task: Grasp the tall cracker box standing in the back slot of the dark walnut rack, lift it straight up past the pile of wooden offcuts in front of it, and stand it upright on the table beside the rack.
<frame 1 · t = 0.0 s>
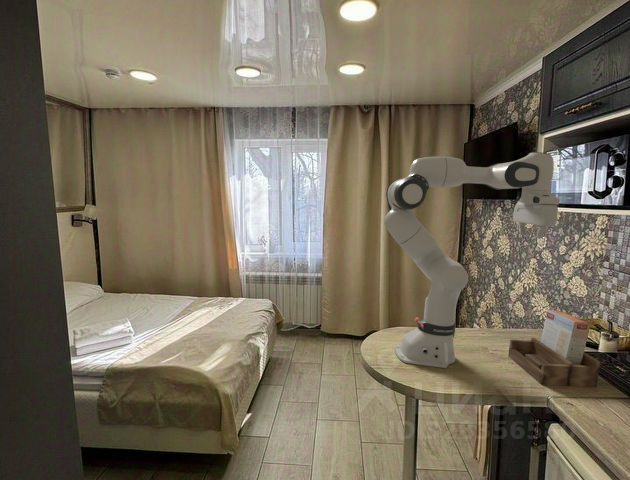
hand: (530, 236, 126), 48 cm above the worktop, fingers open, 8 cm apart
dark stained offcut: (537, 364, 122), point 3 cm above the worktop
walnut rack: (548, 373, 123), on the worktop
cracker box: (554, 371, 124), on the worktop
grey MDF offcut: (536, 369, 123), point 1 cm above the worktop, touching oak offcut
oak offcut: (535, 375, 123), on the worktop, touching grey MDF offcut
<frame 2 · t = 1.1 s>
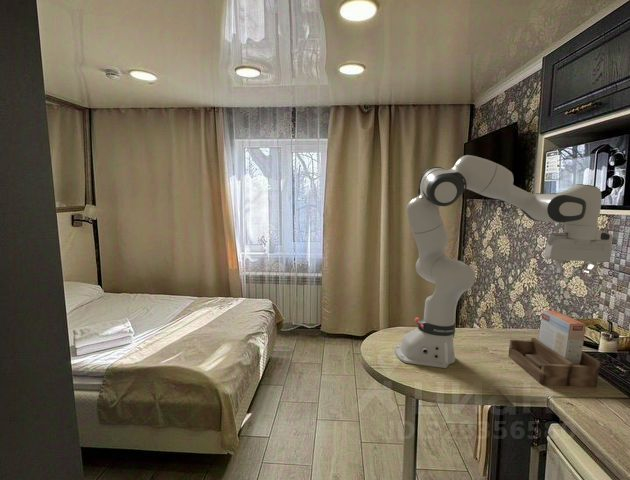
hand: (574, 273, 118), 37 cm above the worktop, fingers open, 8 cm apart
dark stained offcut: (537, 365, 122), point 3 cm above the worktop, touching grey MDF offcut
grey MDF offcut: (536, 369, 123), point 1 cm above the worktop, touching dark stained offcut, oak offcut
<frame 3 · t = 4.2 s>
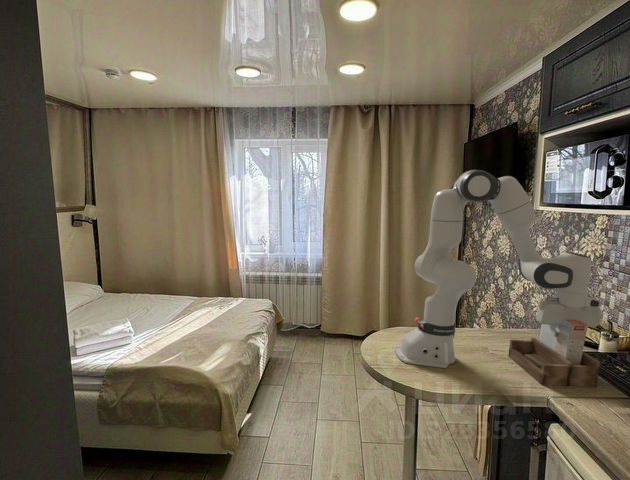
hand: (564, 336, 121), 14 cm above the worktop, fingers closed on cracker box, 6 cm apart
cracker box: (555, 372, 124), on the worktop, touching gripper
everything else where it was.
when the fingers open (15 cm above the worktop, at t = 14.7 s): cracker box moves 1 cm, on the worktop.
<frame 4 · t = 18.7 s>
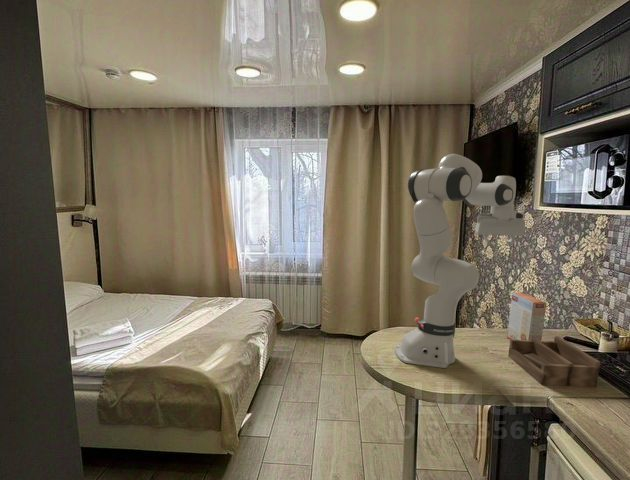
hand: (498, 245, 151), 41 cm above the worktop, fingers open, 8 cm apart
cracker box: (522, 344, 147), on the worktop
everything else where it was.
at the end: cracker box inside the target area (1.4 cm from its centre), on the worktop; cracker box tilted 0°; the gripper is holding nothing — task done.
